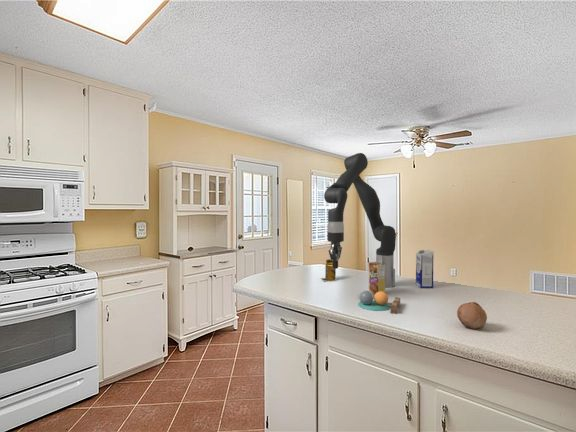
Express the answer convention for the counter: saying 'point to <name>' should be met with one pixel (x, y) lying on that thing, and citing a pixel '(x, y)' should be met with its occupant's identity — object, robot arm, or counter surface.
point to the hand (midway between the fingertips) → (335, 268)
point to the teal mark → (375, 306)
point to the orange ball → (381, 298)
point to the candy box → (376, 277)
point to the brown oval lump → (472, 315)
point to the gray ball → (366, 298)
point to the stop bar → (395, 305)
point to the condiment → (329, 271)
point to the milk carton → (424, 268)
